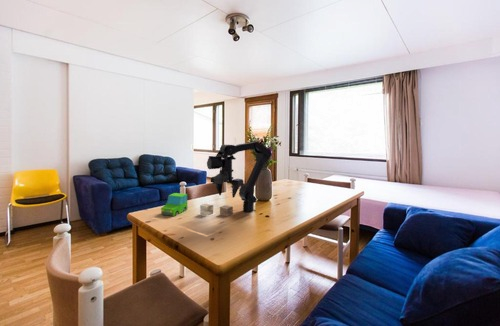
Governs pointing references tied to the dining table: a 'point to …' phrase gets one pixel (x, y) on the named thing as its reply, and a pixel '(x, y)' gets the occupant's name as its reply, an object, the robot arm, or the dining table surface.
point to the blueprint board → (205, 215)
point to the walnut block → (226, 210)
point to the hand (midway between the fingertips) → (226, 196)
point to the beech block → (206, 209)
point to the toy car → (175, 204)
